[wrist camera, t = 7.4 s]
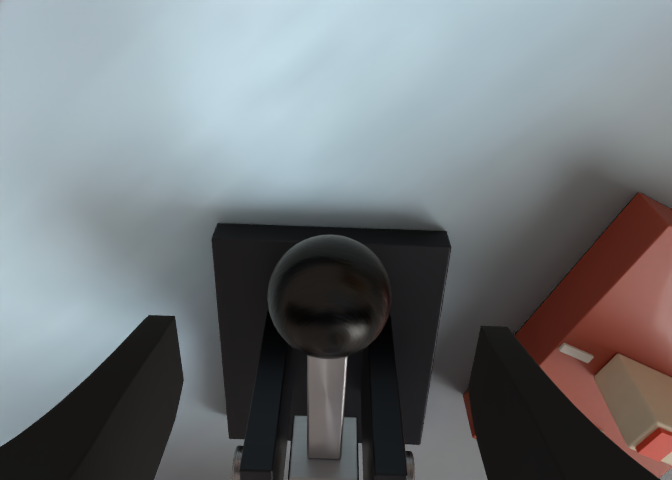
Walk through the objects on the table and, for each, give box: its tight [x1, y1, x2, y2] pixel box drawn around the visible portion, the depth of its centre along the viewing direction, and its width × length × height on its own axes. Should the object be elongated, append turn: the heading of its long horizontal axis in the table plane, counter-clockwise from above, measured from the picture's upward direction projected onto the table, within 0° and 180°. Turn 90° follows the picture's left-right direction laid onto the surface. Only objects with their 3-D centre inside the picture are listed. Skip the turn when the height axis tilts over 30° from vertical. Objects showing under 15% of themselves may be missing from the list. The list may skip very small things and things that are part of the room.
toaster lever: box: [267, 235, 392, 480], centre depth 18 cm, size 11×3×3 cm, turn 178°
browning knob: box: [594, 354, 672, 465], centre depth 23 cm, size 5×2×4 cm, turn 63°
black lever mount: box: [212, 223, 451, 480], centre depth 23 cm, size 11×9×9 cm
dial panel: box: [463, 193, 672, 478], centre depth 25 cm, size 12×9×3 cm
